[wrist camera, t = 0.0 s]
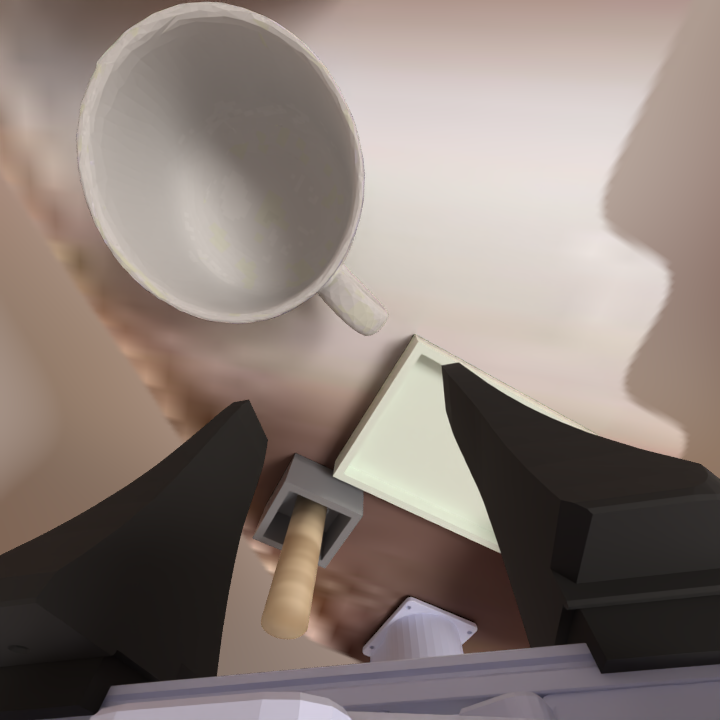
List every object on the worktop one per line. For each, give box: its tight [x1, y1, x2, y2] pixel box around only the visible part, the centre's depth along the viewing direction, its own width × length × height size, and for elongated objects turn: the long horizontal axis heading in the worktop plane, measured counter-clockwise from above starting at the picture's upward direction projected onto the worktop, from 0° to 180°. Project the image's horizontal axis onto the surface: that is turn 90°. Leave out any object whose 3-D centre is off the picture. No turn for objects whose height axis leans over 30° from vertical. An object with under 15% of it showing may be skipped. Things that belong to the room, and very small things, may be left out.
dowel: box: [261, 494, 327, 639], centre depth 22 cm, size 3×3×9 cm
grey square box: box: [253, 453, 363, 568], centre depth 25 cm, size 6×6×3 cm
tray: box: [333, 334, 598, 553], centre depth 24 cm, size 12×16×2 cm
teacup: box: [76, 2, 388, 336], centre depth 16 cm, size 14×11×8 cm
